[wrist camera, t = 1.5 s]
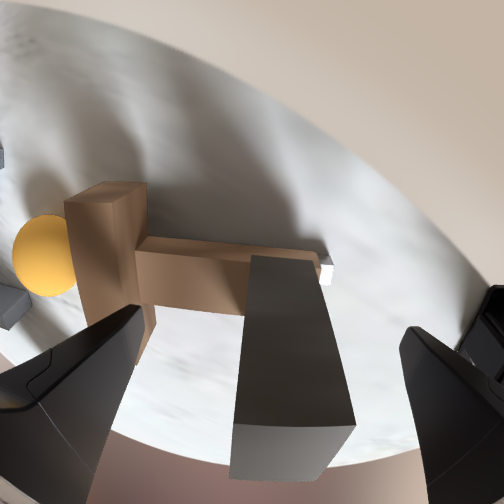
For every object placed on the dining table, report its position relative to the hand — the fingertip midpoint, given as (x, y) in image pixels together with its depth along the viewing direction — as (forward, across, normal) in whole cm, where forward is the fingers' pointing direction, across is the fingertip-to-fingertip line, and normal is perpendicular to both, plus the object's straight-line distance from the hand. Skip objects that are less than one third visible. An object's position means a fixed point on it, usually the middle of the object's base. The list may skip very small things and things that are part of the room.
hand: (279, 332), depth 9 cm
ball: (+3, +11, 0) cm, 11 cm away
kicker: (+4, +3, 0) cm, 5 cm away
